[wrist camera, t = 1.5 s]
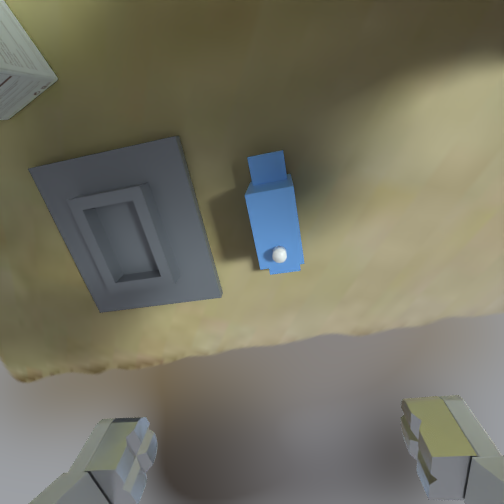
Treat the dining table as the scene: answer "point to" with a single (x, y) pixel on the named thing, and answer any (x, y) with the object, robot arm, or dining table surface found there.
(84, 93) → the dining table surface
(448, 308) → the dining table surface
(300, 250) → the servo block
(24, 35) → the supplement box
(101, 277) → the plate
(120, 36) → the dining table surface
